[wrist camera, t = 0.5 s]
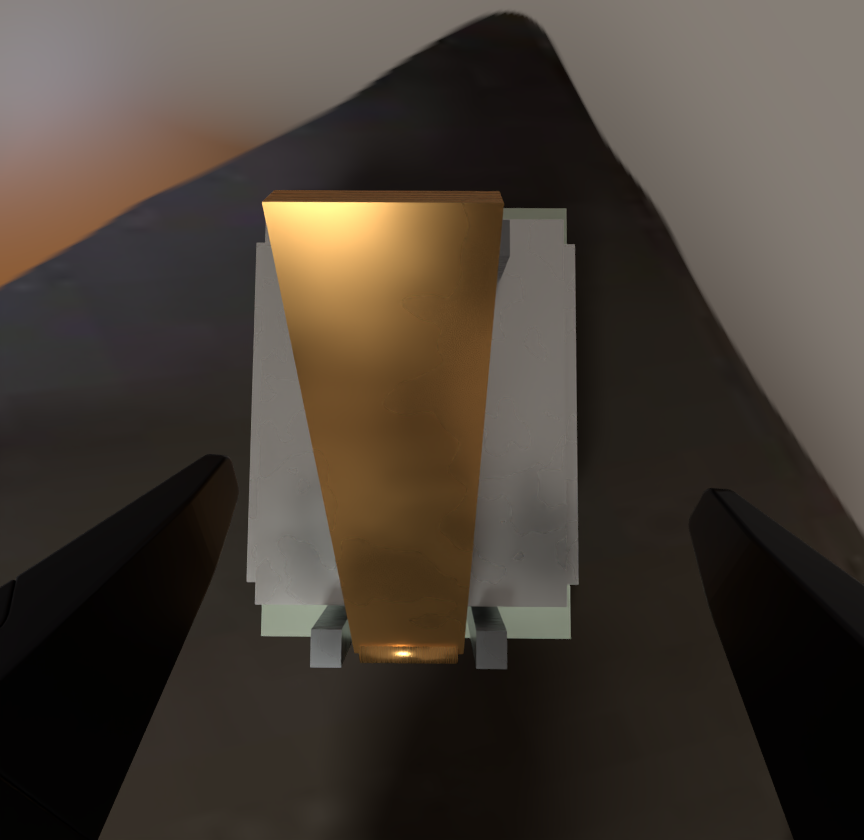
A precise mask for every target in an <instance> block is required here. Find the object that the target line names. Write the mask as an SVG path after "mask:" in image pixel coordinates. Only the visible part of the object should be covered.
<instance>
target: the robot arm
mask: <svg viewBox="0 0 864 840" xmlns="http://www.w3.org/2000/svg"><path fill="white" fill-rule="evenodd" d="M238 495H239V487H238V483H237V479H236V475H235V471H234V468H233V464H232V461H231V459H230V457H228V456H226V455H213V454H209V455H205V456H203V457H201V458H200V459H198V460H197V461H195V462H194V463H192V464H191V465H189V466H187V467H186V468H184V469H183V470H181V471H180V472H178V473H177V474H175V475H174V476H172V477H170V478H169V479H167V480H166V481H164V482H163V483H161V484H160V485H158V486H156V487H155V488H153V489H152V490H150V491H149V492H147V493H146V494H144V495H143V496H141V497H139V498H138V499H136V500H135V501H133V502H132V503H130V504H129V505H127V506H126V507H124V508H122V509H121V510H119V511H118V512H116V513H115V514H113V515H112V516H110V517H108V518H107V519H105V520H104V521H102V522H101V523H99V524H98V525H96V526H95V527H93V528H91V529H90V530H88V531H87V532H85V533H84V534H82V535H81V536H79V537H77V538H76V539H74V540H73V541H71V542H70V543H68V544H67V545H65V546H64V547H62V548H60V549H59V550H57V551H56V552H54V553H53V554H51V555H50V556H48V557H47V558H45V559H43V560H42V561H40V562H39V563H37V564H36V565H34V566H33V567H31V568H29V569H28V570H26V571H25V572H23V573H22V574H20V575H19V576H17V578H16V581H15V580H11V581H9V582H8V583H6V584H4V585H3V586H1V587H0V840H98V838H99V836H100V833H101V831H102V829H103V827H104V824H105V822H106V820H107V817H108V815H109V813H110V811H111V808H112V806H113V804H114V801H115V799H116V797H117V795H118V792H119V790H120V788H121V785H122V783H123V781H124V779H125V776H126V774H127V772H128V770H129V767H130V765H131V763H132V760H133V758H134V756H135V754H136V751H137V749H138V747H139V744H140V742H141V740H142V738H143V735H144V733H145V731H146V728H147V726H148V724H149V722H150V719H151V717H152V715H153V712H154V710H155V708H156V706H157V703H158V701H159V699H160V696H161V694H162V692H163V690H164V687H165V685H166V683H167V680H168V678H169V676H170V674H171V671H172V669H173V667H174V665H175V662H176V660H177V658H178V655H179V653H180V651H181V649H182V646H183V644H184V642H185V639H186V637H187V635H188V633H189V630H190V628H191V626H192V623H193V621H194V619H195V617H196V614H197V612H198V610H199V607H200V605H201V603H202V601H203V598H204V596H205V594H206V591H207V589H208V587H209V585H210V582H211V580H212V577H213V575H214V573H215V570H216V567H217V564H218V561H219V558H220V555H221V552H222V549H223V545H224V542H225V539H226V536H227V532H228V529H229V526H230V523H231V519H232V516H233V513H234V509H235V506H236V503H237V500H238ZM689 532H690V536H691V540H692V544H693V548H694V552H695V556H696V560H697V564H698V568H699V572H700V576H701V580H702V584H703V588H704V592H705V596H706V600H707V603H708V606H709V609H710V612H711V615H712V618H713V621H714V623H715V626H716V629H717V631H718V634H719V637H720V640H721V642H722V645H723V648H724V651H725V653H726V656H727V659H728V661H729V664H730V667H731V670H732V672H733V675H734V678H735V681H736V683H737V686H738V689H739V692H740V694H741V697H742V700H743V702H744V705H745V708H746V711H747V713H748V716H749V719H750V722H751V724H752V727H753V730H754V732H755V735H756V738H757V741H758V743H759V746H760V749H761V752H762V754H763V757H764V760H765V762H766V765H767V768H768V771H769V773H770V776H771V779H772V782H773V784H774V787H775V790H776V792H777V795H778V798H779V801H780V803H781V806H782V809H783V812H784V814H785V817H786V820H787V822H788V825H789V828H790V831H791V833H792V836H793V839H794V840H864V585H863V584H861V583H860V582H859V581H857V580H856V579H854V578H853V577H852V576H850V575H849V574H847V573H846V572H845V571H843V570H842V569H841V568H839V567H838V566H836V565H835V564H834V563H832V562H831V561H829V560H828V559H827V558H825V557H824V556H822V555H821V554H820V553H818V552H817V551H816V550H814V549H813V548H811V547H810V546H809V545H807V544H806V543H804V542H803V541H802V540H800V539H799V538H797V537H796V536H795V535H793V534H792V533H791V532H789V531H788V530H786V529H785V528H784V527H782V526H781V525H779V524H778V523H777V522H775V521H774V520H773V519H771V518H770V517H768V516H767V515H766V514H764V513H763V512H761V511H760V510H759V509H757V508H756V507H754V506H753V505H752V504H750V503H749V502H748V501H746V500H745V499H743V498H742V497H741V496H739V495H738V494H736V493H735V492H733V491H731V490H728V489H716V488H710V489H707V490H705V491H704V492H703V494H702V496H701V498H700V499H699V501H698V503H697V505H696V507H695V509H694V511H693V512H692V514H691V516H690V519H689Z"/></svg>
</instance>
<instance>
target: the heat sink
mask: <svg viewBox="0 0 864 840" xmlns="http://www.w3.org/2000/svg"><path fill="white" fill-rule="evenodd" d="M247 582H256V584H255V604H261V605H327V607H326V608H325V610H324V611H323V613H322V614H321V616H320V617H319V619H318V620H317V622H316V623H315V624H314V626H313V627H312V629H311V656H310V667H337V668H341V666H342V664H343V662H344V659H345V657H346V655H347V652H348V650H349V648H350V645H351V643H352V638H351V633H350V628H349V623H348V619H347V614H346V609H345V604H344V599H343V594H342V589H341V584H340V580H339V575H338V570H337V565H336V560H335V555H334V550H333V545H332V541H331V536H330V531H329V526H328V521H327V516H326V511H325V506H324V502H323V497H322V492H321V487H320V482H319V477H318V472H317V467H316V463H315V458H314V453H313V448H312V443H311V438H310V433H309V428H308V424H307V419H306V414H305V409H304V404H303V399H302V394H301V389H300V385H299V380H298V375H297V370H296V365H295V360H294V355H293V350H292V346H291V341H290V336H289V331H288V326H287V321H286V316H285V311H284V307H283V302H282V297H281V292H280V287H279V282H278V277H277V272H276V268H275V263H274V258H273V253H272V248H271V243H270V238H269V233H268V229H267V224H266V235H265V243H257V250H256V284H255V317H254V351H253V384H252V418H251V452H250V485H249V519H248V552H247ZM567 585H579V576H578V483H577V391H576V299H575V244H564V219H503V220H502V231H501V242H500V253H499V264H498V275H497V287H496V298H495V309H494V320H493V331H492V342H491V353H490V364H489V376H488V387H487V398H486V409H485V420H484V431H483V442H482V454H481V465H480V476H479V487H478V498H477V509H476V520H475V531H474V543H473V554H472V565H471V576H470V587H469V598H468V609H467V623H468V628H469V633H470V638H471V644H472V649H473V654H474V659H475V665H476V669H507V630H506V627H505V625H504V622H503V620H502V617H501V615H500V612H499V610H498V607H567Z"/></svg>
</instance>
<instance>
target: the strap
mask: <svg viewBox="0 0 864 840" xmlns="http://www.w3.org/2000/svg"><path fill="white" fill-rule="evenodd" d="M262 204H263V209H264V214H265V219H266V224H267V229H268V233H269V238H270V243H271V248H272V253H273V258H274V263H275V268H276V272H277V277H278V282H279V287H280V292H281V297H282V302H283V307H284V311H285V316H286V321H287V326H288V331H289V336H290V341H291V346H292V350H293V355H294V360H295V365H296V370H297V375H298V380H299V385H300V389H301V394H302V399H303V404H304V409H305V414H306V419H307V424H308V428H309V433H310V438H311V443H312V448H313V453H314V458H315V463H316V467H317V472H318V477H319V482H320V487H321V492H322V497H323V502H324V506H325V511H326V516H327V521H328V526H329V531H330V536H331V541H332V545H333V550H334V555H335V560H336V565H337V570H338V575H339V580H340V584H341V589H342V594H343V599H344V604H345V609H346V614H347V619H348V623H349V628H350V633H351V638H352V643H353V648H354V653H359V660H360V663H446V664H457V663H458V654H464V643H465V632H466V620H467V609H468V598H469V587H470V576H471V565H472V554H473V543H474V531H475V520H476V509H477V498H478V487H479V476H480V465H481V454H482V442H483V431H484V420H485V409H486V398H487V387H488V376H489V364H490V353H491V342H492V331H493V320H494V309H495V298H496V287H497V275H498V264H499V253H500V242H501V231H502V220H503V209H504V202H503V199H502V197H501V194H500V192H499V191H334V190H274V191H273V192H272V193H271V194H270V195H269V196H268V197H267V198H266V199H265V200H264V201H262Z"/></svg>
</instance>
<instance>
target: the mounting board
mask: <svg viewBox="0 0 864 840" xmlns="http://www.w3.org/2000/svg"><path fill="white" fill-rule="evenodd" d="M503 219H564V244H567V220H566V208H504V209H503ZM326 607H327V605H262V623H261V636H311V629H312V627H313V626H314V624H315V623H316V622H317V620H318V619H319V617H320V616H321V614H322V613H323V611H324V610H325V608H326ZM498 610H499V612H500V615H501V617H502V620H503V622H504V625H505V627H506V630H507V638H530V639H571V628H570V585H567V607H498ZM465 638H470V633H469V628H468V623H467V620H466V632H465Z"/></svg>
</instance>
